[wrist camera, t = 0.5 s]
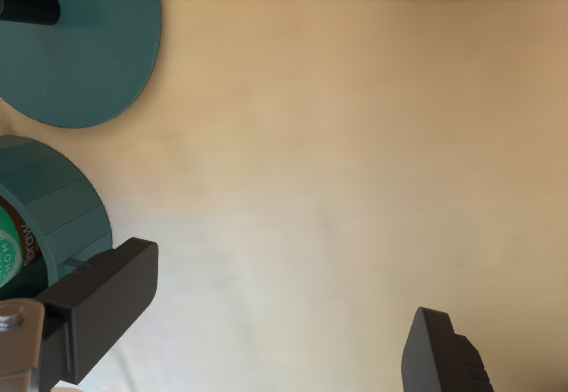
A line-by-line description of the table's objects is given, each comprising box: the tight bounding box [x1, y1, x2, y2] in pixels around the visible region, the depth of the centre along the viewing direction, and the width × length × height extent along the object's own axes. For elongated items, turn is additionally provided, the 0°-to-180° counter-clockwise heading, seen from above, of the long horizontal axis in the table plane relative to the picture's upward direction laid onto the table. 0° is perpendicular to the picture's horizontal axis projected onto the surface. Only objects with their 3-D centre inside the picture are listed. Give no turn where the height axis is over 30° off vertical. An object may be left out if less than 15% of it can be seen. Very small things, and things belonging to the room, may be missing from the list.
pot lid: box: [0, 0, 161, 128], centre depth 26 cm, size 18×18×6 cm
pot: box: [0, 135, 112, 301], centre depth 33 cm, size 17×22×7 cm
